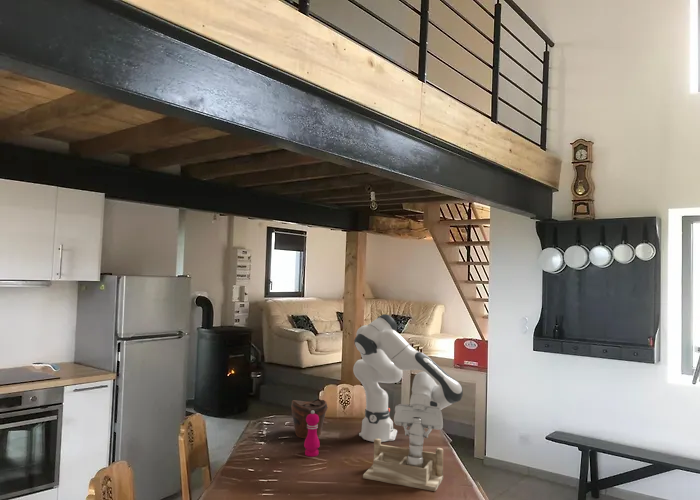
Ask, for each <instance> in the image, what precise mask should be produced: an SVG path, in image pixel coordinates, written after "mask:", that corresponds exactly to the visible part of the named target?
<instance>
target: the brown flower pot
mask: <svg viewBox="0 0 700 500" xmlns="http://www.w3.org/2000/svg"><path fill="white" fill-rule="evenodd" d="M290 408H291V410H290V411H291V415H292V421H293V426H294V432H295V433H294V434H295V436H296V437H298V438H303V439H306V437H307V434H308V428H307V424H308V423H307V422H306V417H307V415H309V414H311V411H312V410H314V411H315V413H314V414H317V415H318V417H319V422H318V423H317V424H318V428H317V436H318V437H320V436H321V434H322V430H323V425H324V421H325V417H326V413H327V410H328V404H327V401H326V400H325V399H320V398H317V399H315V400H309V401H307V400H305V401H303V400H295V399H292V401H291V407H290Z"/></svg>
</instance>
